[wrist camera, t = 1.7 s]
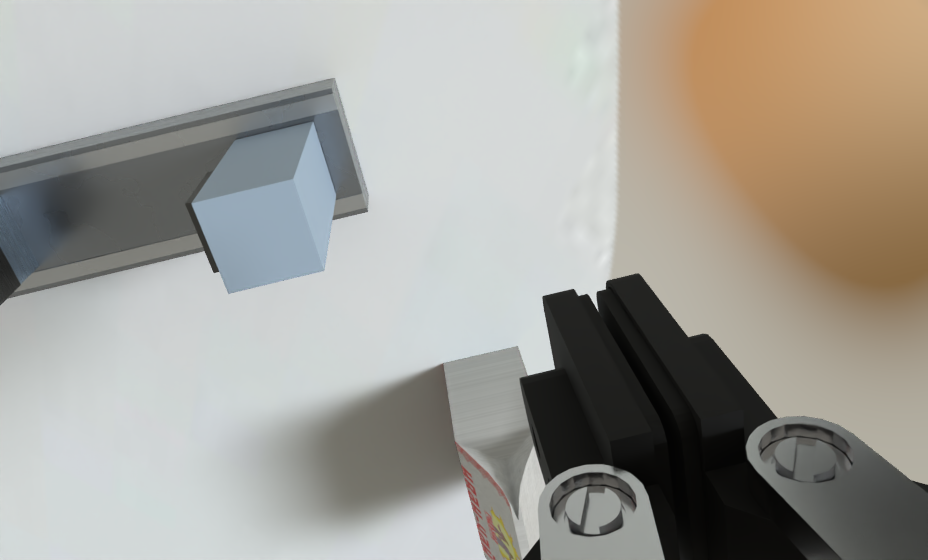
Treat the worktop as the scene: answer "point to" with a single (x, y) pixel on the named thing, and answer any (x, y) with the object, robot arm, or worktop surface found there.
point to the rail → (146, 187)
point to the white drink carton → (496, 450)
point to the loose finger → (266, 209)
